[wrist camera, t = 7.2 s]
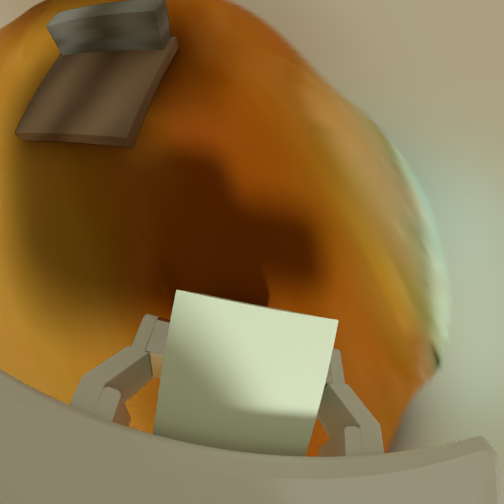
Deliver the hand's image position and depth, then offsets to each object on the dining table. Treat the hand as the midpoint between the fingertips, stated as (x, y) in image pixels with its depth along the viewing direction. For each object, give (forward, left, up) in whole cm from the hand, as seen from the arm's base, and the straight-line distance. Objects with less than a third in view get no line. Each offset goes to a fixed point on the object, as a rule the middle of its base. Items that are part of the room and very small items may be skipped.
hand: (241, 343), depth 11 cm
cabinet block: (0, -1, -6) cm, 6 cm away
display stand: (-16, +16, -7) cm, 24 cm away
